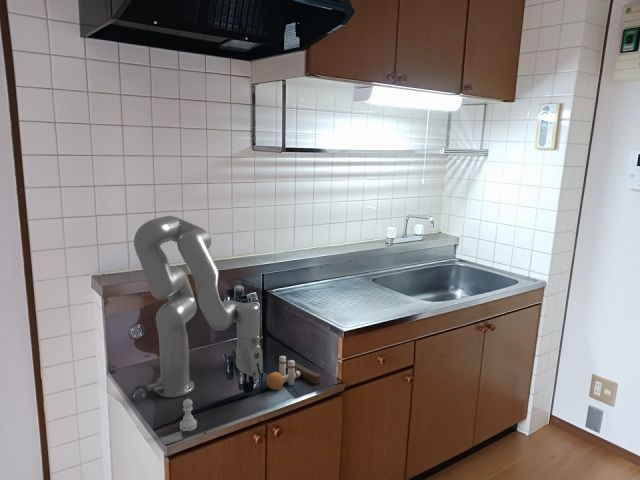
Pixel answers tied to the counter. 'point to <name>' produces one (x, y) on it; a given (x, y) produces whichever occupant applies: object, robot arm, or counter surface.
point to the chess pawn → (188, 417)
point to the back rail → (307, 373)
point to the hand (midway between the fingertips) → (248, 391)
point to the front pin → (297, 375)
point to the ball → (275, 380)
